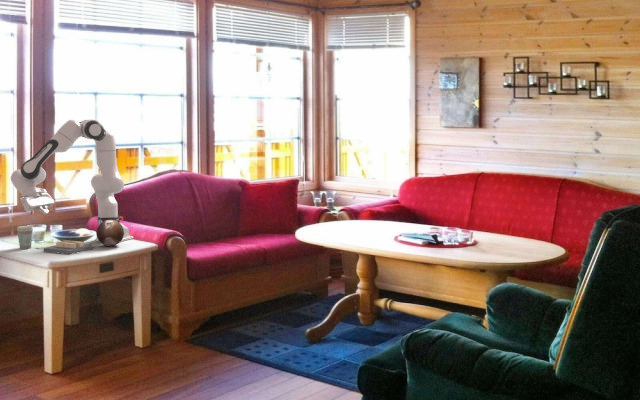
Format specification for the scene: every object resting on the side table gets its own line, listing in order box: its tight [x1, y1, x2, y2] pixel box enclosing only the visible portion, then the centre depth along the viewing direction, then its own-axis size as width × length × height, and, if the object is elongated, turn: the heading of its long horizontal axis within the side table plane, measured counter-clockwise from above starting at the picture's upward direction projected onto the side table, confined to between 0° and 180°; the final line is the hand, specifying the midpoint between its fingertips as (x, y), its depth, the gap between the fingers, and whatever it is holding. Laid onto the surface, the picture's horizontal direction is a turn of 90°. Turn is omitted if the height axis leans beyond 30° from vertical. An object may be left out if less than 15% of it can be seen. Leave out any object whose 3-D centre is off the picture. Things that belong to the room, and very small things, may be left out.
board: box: [42, 244, 93, 255], centre depth 445 cm, size 18×18×2 cm
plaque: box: [55, 239, 85, 249], centre depth 444 cm, size 8×3×12 cm
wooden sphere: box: [95, 220, 124, 247], centre depth 459 cm, size 15×15×15 cm
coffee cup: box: [16, 225, 34, 250], centre depth 449 cm, size 8×8×12 cm
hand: (46, 213), depth 448 cm, fingers closed
